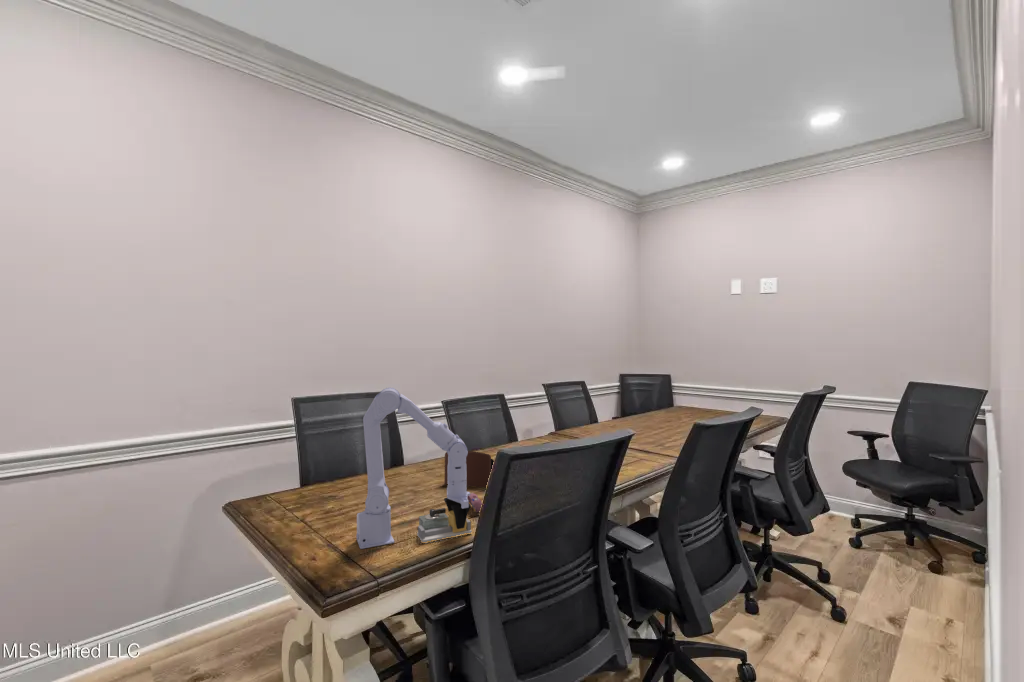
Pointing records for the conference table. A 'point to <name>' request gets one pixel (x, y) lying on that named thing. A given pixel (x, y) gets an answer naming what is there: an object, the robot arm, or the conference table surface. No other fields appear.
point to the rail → (440, 532)
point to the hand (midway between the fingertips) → (457, 524)
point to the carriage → (454, 522)
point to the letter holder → (475, 468)
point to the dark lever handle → (437, 511)
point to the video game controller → (474, 502)
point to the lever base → (433, 521)
